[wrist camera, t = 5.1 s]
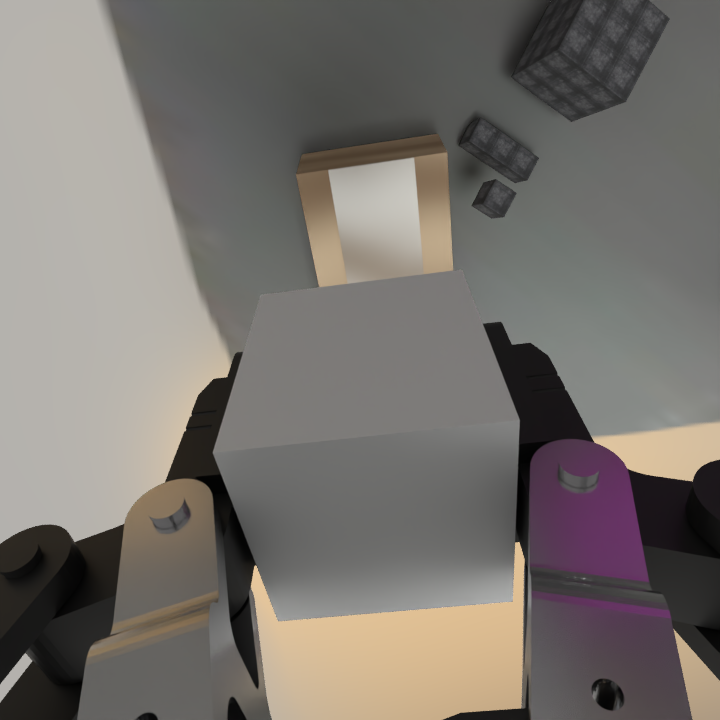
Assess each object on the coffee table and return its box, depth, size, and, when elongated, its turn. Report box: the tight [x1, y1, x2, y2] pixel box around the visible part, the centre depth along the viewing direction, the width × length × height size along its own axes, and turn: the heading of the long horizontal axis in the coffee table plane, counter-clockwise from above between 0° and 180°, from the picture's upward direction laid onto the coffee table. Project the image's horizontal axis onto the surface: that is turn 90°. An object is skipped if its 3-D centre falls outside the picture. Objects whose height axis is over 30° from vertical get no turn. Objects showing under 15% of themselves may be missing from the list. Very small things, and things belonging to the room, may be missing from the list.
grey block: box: [213, 269, 520, 621], centre depth 10 cm, size 4×4×4 cm
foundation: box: [296, 134, 453, 287], centre depth 27 cm, size 14×6×3 cm, turn 8°
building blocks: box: [459, 0, 670, 218], centre depth 22 cm, size 3×6×8 cm
